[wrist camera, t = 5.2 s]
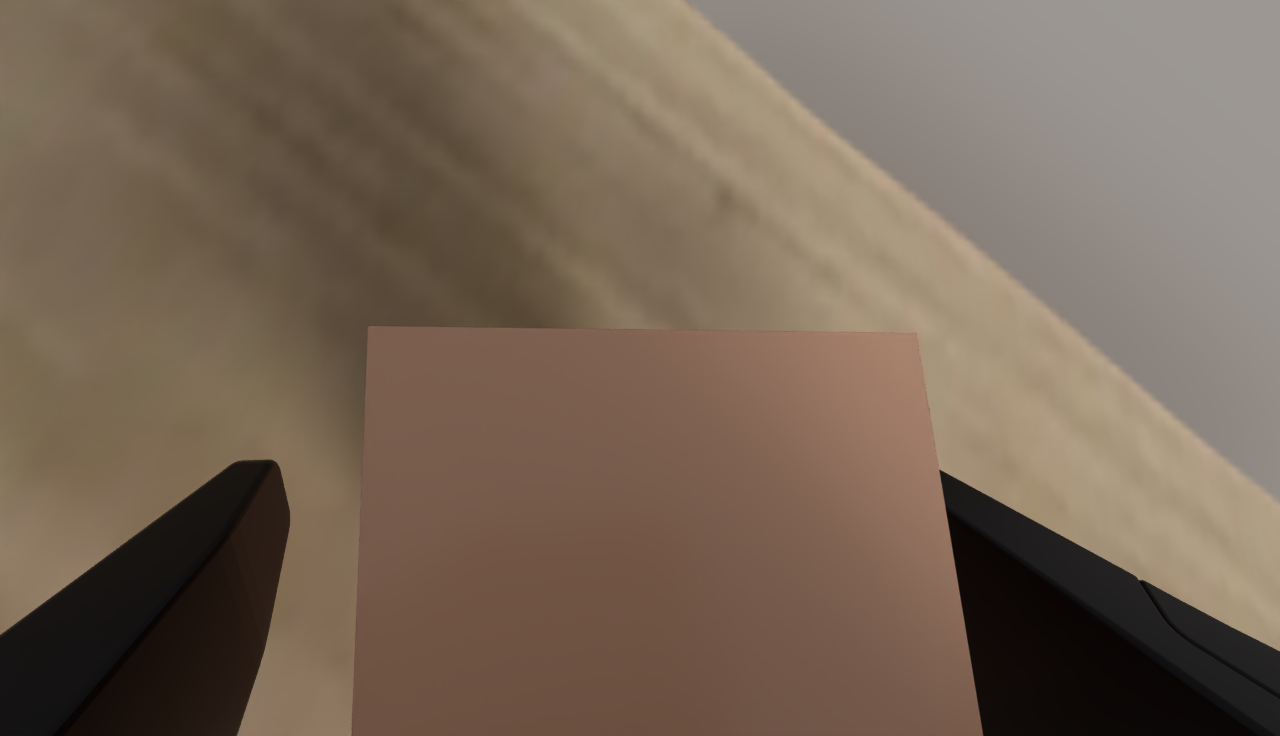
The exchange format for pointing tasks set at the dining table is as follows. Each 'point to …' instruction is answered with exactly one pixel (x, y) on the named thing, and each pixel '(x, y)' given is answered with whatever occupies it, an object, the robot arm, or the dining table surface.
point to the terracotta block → (654, 537)
